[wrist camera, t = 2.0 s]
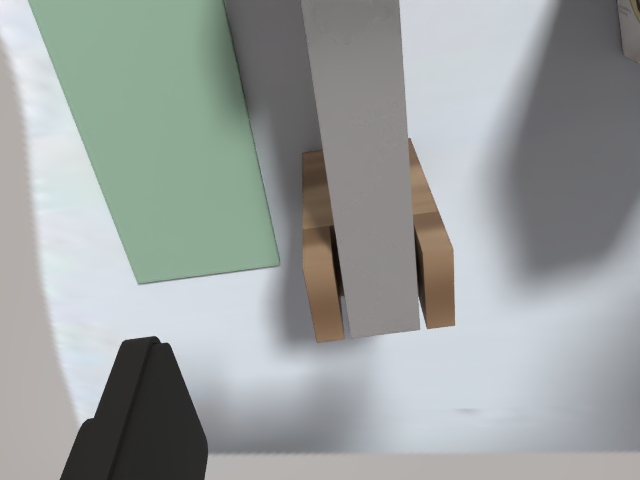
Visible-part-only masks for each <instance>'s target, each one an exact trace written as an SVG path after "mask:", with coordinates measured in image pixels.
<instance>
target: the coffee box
mask: <svg viewBox="0 0 640 480" xmlns="http://www.w3.org/2000/svg"><path fill="white" fill-rule="evenodd" d="M617 4H618V13H619V21H620V29H621V38H622V47H623V54H624V56H626V57H627V58H629V59H631V60H633V61H634V62H636V63H638V64H640V0H617Z"/></svg>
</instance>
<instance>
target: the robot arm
mask: <svg viewBox="0 0 640 480" xmlns="http://www.w3.org/2000/svg"><path fill="white" fill-rule="evenodd" d="M207 458H208V445H207V440H206V436H205V434H204V431H203V428H202V426H201V423H200V421H199V418H198V416H197V413H196V410H195V408H194V405H193V403H192V400H191V397H190V395H189V392H188V390H187V387H186V384H185V382H184V379H183V377H182V374H181V372H180V369H179V366H178V364H177V361H176V359H175V356H174V353H173V351H172V348H171V346H170V344H169V343H161V342H160V340H159V339H158V338H157V337H156V336H152V337H145V338H137V339H130V340H125V341H123V342H122V344H121V346H120V348H119V351H118V354H117V356H116V359H115V362H114V365H113V367H112V370H111V373H110V375H109V378H108V381H107V384H106V386H105V389H104V392H103V394H102V397H101V400H100V403H99V405H98V408H97V411H96V413H95V416H94V418H91V419H87V420H86V421H85V422H84V423H83V424H82V426H81V428H80V430H79V432H78V434H77V437H76V439H75V442H74V444H73V447H72V450H71V452H70V455H69V457H68V460H67V462H66V465H65V468H64V470H63V473H62V475H61V478H60V480H204V478H205V472H206V465H207Z"/></svg>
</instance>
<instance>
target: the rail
mask: <svg viewBox="0 0 640 480" xmlns="http://www.w3.org/2000/svg"><path fill="white" fill-rule="evenodd" d="M300 1H301V7H302V14H303V21H304V27H305V34H306V41H307V47H308V54H309V61H310V67H311V74H312V81H313V87H314V94H315V100H316V107H317V114H318V120H319V127H320V134H321V140H322V147H323V154H324V160H325V167H326V174H327V180H328V187H329V194H330V200H331V207H332V214H333V220H334V227H335V234H336V240H337V247H338V254H339V260H340V267H341V274H342V280H343V287H344V294H345V300H346V307H347V314H348V320H349V327H350V334H351V338H359V337H367V336H375V335H383V334H391V333H399V332H407V331H416V330H420V319H419V304H418V288H417V272H416V257H415V241H414V226H413V210H412V195H411V179H410V164H409V148H408V132H407V117H406V101H405V86H404V70H403V55H402V39H401V24H400V8H399V0H300Z"/></svg>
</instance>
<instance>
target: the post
mask: <svg viewBox="0 0 640 480" xmlns="http://www.w3.org/2000/svg"><path fill="white" fill-rule="evenodd" d="M408 148H409V164H410V179H411V195H412V210H413V226H414V241H415V257H416V272H417V288H418V297H419V300H420V304H421V308H422V312H423V315H424V319H425V323H426V327H427V329H432V328H440V327H448V326H455V302H454V256H453V247H452V245H451V242H450V239H449V237H448V234H447V232H446V229H445V227H444V224H443V221H442V219H441V216H440V214H439V211H438V209H437V206H436V203H435V201H434V198H433V196H432V193H431V190H430V188H429V185H428V183H427V180H426V178H425V175H424V172H423V170H422V167H421V165H420V162H419V160H418V157H417V154H416V152H415V149H414V147H413V144H412V142H411V139H410V138H408ZM302 189H303V273H304V278H305V283H306V288H307V293H308V298H309V304H310V309H311V314H312V319H313V324H314V329H315V335H316V340H317V343H319V342H327V341H335V340H343V339H344V330H343V318H342V307H341V296H345V294H344V287H343V280H342V274H341V267H340V260H339V254H338V247H337V240H336V234H335V227H334V220H333V214H332V207H331V200H330V194H329V187H328V180H327V174H326V167H325V160H324V154H323V151H316V152H309V153H302Z"/></svg>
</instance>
